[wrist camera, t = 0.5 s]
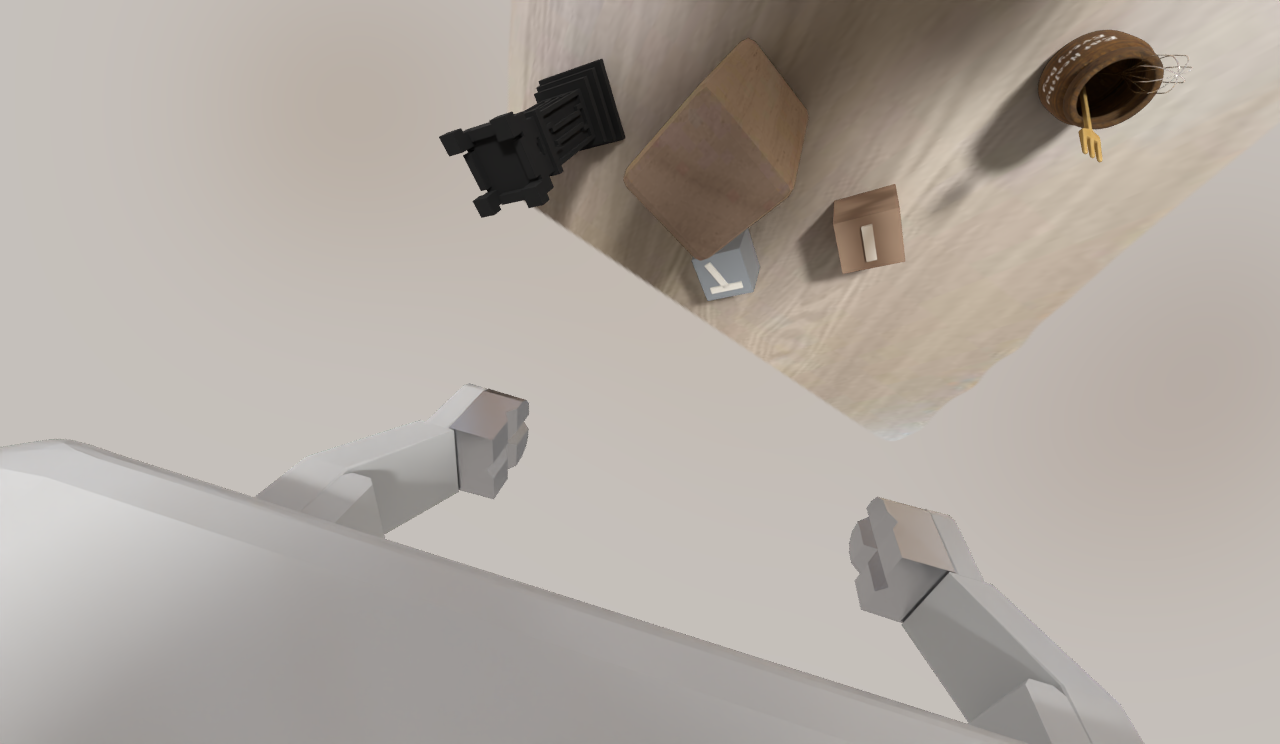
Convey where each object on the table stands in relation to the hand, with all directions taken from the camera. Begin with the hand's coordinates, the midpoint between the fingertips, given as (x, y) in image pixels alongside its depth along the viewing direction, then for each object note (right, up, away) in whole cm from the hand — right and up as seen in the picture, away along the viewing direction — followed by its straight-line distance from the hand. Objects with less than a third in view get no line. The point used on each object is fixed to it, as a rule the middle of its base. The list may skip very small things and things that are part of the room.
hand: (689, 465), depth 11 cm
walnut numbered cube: (+25, +20, +40) cm, 51 cm away
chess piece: (-8, +33, +42) cm, 54 cm away
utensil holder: (+36, +27, +27) cm, 53 cm away
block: (+10, +30, +37) cm, 49 cm away
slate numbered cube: (+11, +18, +48) cm, 53 cm away
